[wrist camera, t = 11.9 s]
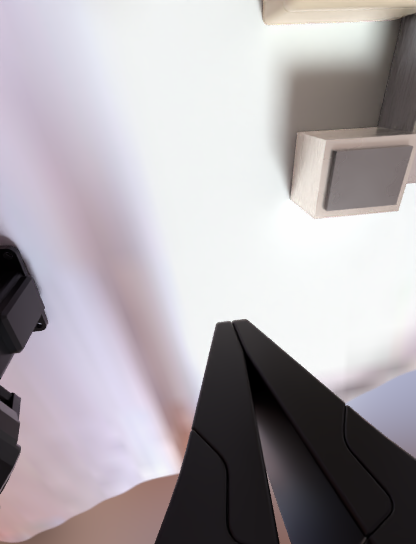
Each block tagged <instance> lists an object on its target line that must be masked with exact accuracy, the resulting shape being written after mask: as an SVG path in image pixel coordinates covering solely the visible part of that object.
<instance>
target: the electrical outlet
mask: <svg viewBox="0 0 416 544" xmlns="http://www.w3.org/2000/svg"><path fill="white" fill-rule="evenodd" d="M415 13H416V0H263V14H262V18H263V22H264V23H265V24H266V25H289V24H316V23H343V22H370V21H393V20H396V19H399V18H402V17H406V16H409V15H412V14H415Z"/></svg>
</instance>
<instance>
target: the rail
mask: <svg viewBox="0 0 416 544" xmlns="http://www.w3.org/2000/svg"><path fill="white" fill-rule="evenodd" d="M408 183H416V13H415V14H412V15H409V16H406V17H403V18H402V22H401V27H400V31H399V35H398V40H397V44H396V48H395V53H394V57H393V61H392V66H391V70H390V75H389V79H388V83H387V88H386V92H385V96H384V101H383V105H382V109H381V114H380V118H379V123H378V127H368V128H352V129H337V130H321V131H305V132H297V139H296V148H295V158H294V168H293V177H292V187H291V197H290V200H291V201H293V202H294V203H295V204H296V205H298V206H299V207H300V208H301V209H302V210H304V211H305V212H306V213H307V214H309V215H310V216H311V217H312V218H314V219H318V218H329V217H339V216H350V215H360V214H371V213H381V212H392V211H398V210H399V206H400V203H401V200H402V197H403V193H404V190H405V187H406V184H408Z"/></svg>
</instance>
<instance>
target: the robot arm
mask: <svg viewBox="0 0 416 544" xmlns="http://www.w3.org/2000/svg"><path fill="white" fill-rule="evenodd" d="M6 252H9V253H11V254H12V256H13V257H11V256H8V255H7V254H6ZM44 309H45V307H44V304H43V302H42V299H41V297H40V295H39V292H38V290H37V287H36V285H35V282H34V280H33V278H32V277H30V276H29V274H28V272H27V270H26V267H25V265H24V262H23V260H22V257H21V255H20V253H19V251H18V249H16V248H15V247H13V246H0V379H1V377H2V376H3V374H4V372H5V370H6V368H7V366H8V365H9V363H10V361H11V359H12V357H13V355H14V354H15V353H20V352H21V351H22V350H23V349H24V347H25V345H26V343H27V341H28V339H29V337H30V335H31V334H32V332H35V331H42V330H44V329H45V328H46V326H47V324H48V320H47V318H46V315H45V313H44ZM38 323H41V324H38ZM20 401H21V398H20V397H18V396H17V395H16V394H15V393H10V392H9V391H7V390H6V389H5V388H3V387H2V386H1V385H0V494H1V492H2V491H3V489H4V487H5V485H6V484H7V482H8V480H9V478H10V475H11V473H12V471H13V470H14V467H15V465H16V462H17V460H18V458H19V455H20V451H21V447H20V445H18V444H17V441H18V434H19V427H20V422H19V412H20ZM266 471H267V473H266ZM267 474H268V477H269V480H270V483H271V486H272V489H273V492H274V495H275V498H276V501H277V504H278V507H279V510H280V512H281V515H282V518H283V521H284V524H285V527H286V530H287V533H288V536H289V539H290V542H291V544H416V459H415V458H414V457H413V456H411V455H410V454H409V453H407V452H406V451H405V450H403V449H402V448H401V447H399V446H398V445H397V444H395V443H394V442H393V441H391V440H390V439H389V438H387V437H386V436H385V435H383V434H382V433H381V432H380V431H379V430H377V429H376V428H375V427H374V426H372V425H371V424H370V423H369V422H368V421H366V420H365V419H364V418H363V417H361V416H360V415H359V414H358V413H357V412H356V411H354V410H353V409H352V408H351V407H350V406H348V405H346V406H345V402H344V401H342V400H341V399H340V398H339V397H338V396H337V395H335V394H334V393H333V392H332V391H331V390H329V389H328V388H327V387H326V386H325V385H324V384H322V383H321V382H320V381H319V380H318V379H317V378H315V377H314V376H313V375H312V374H311V373H309V372H308V371H307V370H306V369H305V368H304V367H302V366H301V365H300V364H299V363H298V362H297V361H295V360H294V359H293V358H292V357H291V356H289V355H288V354H287V353H286V352H285V351H284V350H282V349H281V348H280V347H279V346H278V345H276V344H275V343H274V342H273V341H272V340H271V339H269V338H268V337H267V336H266V335H265V334H264V333H262V332H261V331H260V330H259V329H258V328H256V327H255V326H254V325H253V324H252V323H251V322H249V321H248V320H246V319H241V320H234V321H232V322H230V321H225V322H218V323H217V324H216V327H215V331H214V336H213V340H212V344H211V348H210V352H209V357H208V361H207V365H206V369H205V373H204V378H203V382H202V386H201V390H200V395H199V399H198V403H197V407H196V411H195V416H194V420H193V424H192V431H191V432H190V436H189V440H188V444H187V448H186V452H185V455H184V459H183V463H182V466H181V470H180V474H179V477H178V480H177V483H176V486H175V489H174V492H173V494H172V497H171V500H170V503H169V506H168V509H167V512H166V514H165V517H164V520H163V522H162V525H161V528H160V530H159V533H158V536H157V538H156V541H155V544H279V538H278V532H277V527H276V522H275V516H274V511H273V505H272V500H271V494H270V489H269V484H268V478H267Z"/></svg>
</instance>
